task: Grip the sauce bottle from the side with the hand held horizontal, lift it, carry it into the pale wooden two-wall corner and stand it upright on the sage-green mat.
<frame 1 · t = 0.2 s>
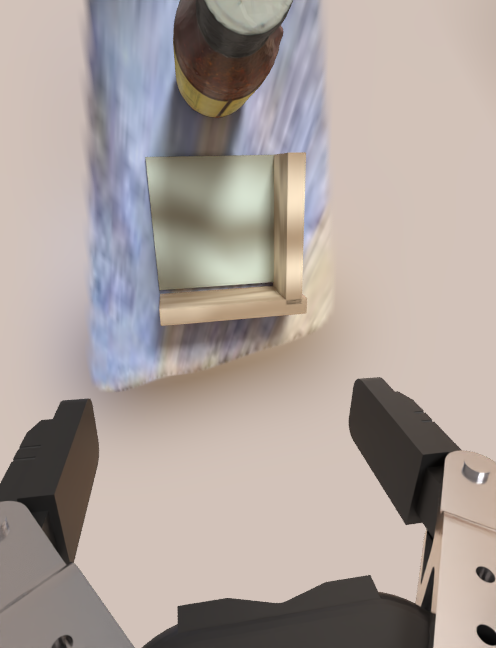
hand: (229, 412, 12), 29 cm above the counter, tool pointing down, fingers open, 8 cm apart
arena: (217, 224, 38), on the counter
sauce bottle: (209, 79, 34), on the counter
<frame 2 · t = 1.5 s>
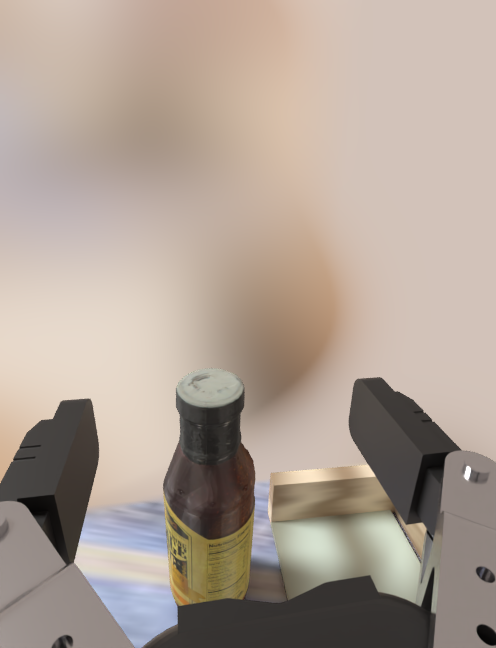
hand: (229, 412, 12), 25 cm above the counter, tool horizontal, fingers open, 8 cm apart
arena: (353, 574, 34), on the counter
sauce bottle: (210, 593, 32), on the counter
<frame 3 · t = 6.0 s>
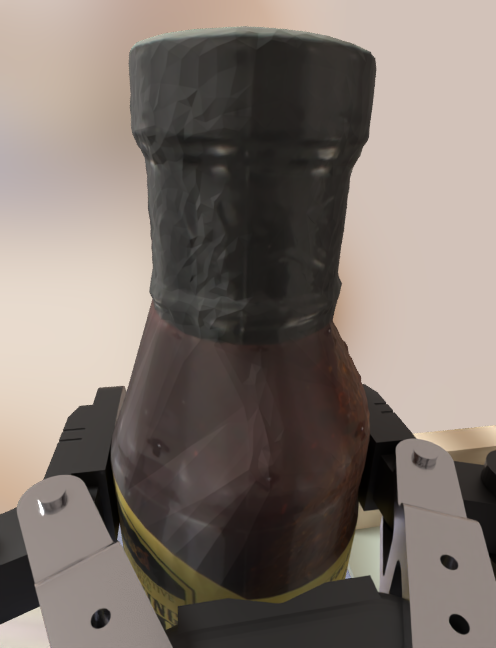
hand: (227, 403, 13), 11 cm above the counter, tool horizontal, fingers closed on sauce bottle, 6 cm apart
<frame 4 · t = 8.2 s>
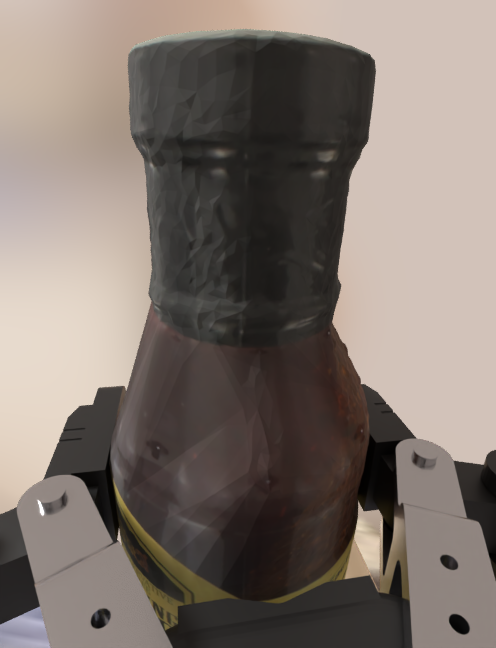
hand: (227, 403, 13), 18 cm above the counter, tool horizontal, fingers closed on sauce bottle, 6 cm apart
when the fingers open (13 cm above the counter, at t = 10.5 s): sauce bottle drops 1 cm, resting on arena.
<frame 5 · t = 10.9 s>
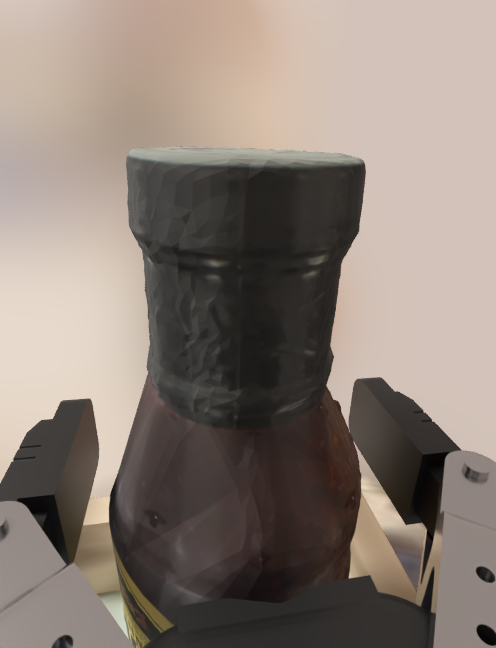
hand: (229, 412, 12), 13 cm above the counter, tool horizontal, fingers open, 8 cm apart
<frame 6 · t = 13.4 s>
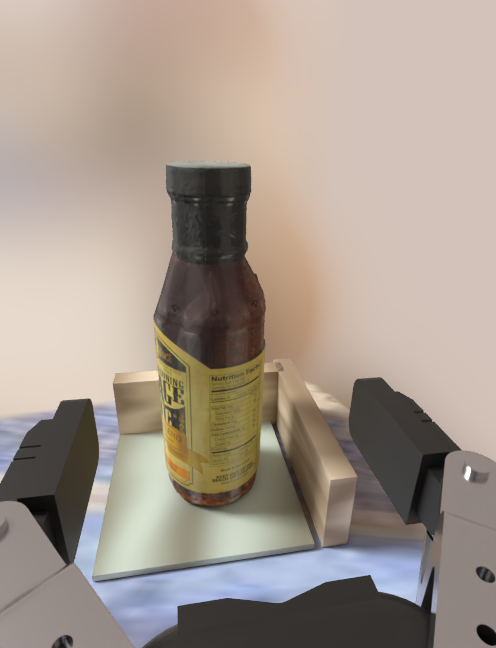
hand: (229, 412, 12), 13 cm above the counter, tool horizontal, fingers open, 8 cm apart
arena: (201, 482, 27), on the counter
sauce bottle: (214, 480, 27), resting on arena
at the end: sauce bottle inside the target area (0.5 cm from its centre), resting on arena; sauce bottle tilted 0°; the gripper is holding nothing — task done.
